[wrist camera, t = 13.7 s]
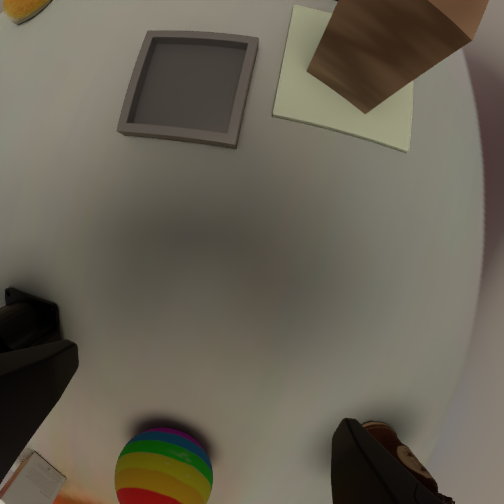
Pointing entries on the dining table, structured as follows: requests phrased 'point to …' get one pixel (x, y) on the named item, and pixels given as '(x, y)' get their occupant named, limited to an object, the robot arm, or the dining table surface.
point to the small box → (32, 483)
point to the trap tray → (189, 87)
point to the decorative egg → (163, 469)
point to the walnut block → (389, 44)
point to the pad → (327, 100)
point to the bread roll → (23, 9)
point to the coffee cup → (404, 457)
